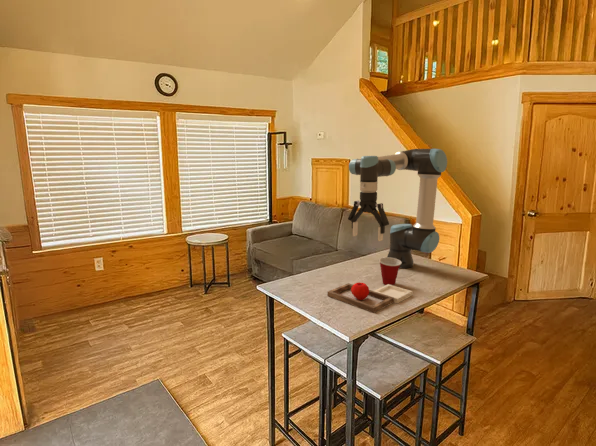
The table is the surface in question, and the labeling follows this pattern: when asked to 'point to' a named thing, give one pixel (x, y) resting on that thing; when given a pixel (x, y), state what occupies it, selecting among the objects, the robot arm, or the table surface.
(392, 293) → the dish
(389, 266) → the plastic cup
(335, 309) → the table surface
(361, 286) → the apple
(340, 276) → the table surface
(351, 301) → the pocket frame
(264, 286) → the table surface
